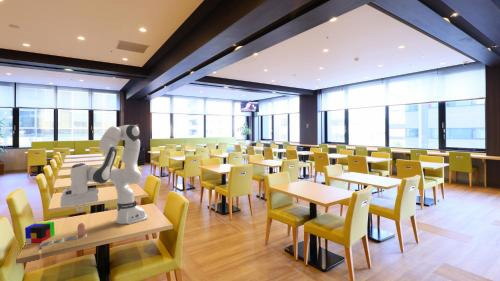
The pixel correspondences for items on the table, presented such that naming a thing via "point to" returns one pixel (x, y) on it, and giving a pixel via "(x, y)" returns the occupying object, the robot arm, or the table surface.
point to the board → (58, 241)
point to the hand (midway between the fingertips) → (80, 211)
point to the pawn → (81, 230)
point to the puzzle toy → (39, 232)
